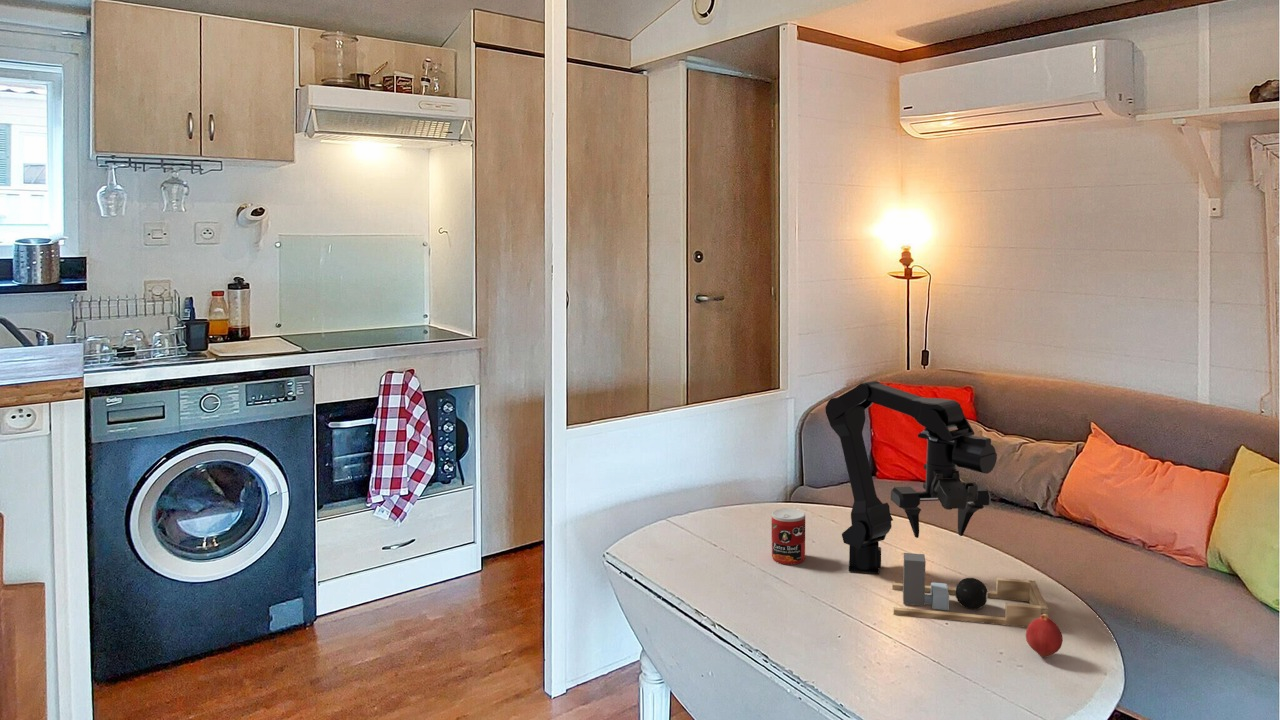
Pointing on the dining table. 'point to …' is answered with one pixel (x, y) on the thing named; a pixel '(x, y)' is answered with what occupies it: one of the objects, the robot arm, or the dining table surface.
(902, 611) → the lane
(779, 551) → the canned food
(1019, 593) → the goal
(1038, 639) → the onion
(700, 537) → the dining table surface
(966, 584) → the billiard ball
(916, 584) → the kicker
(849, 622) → the dining table surface
